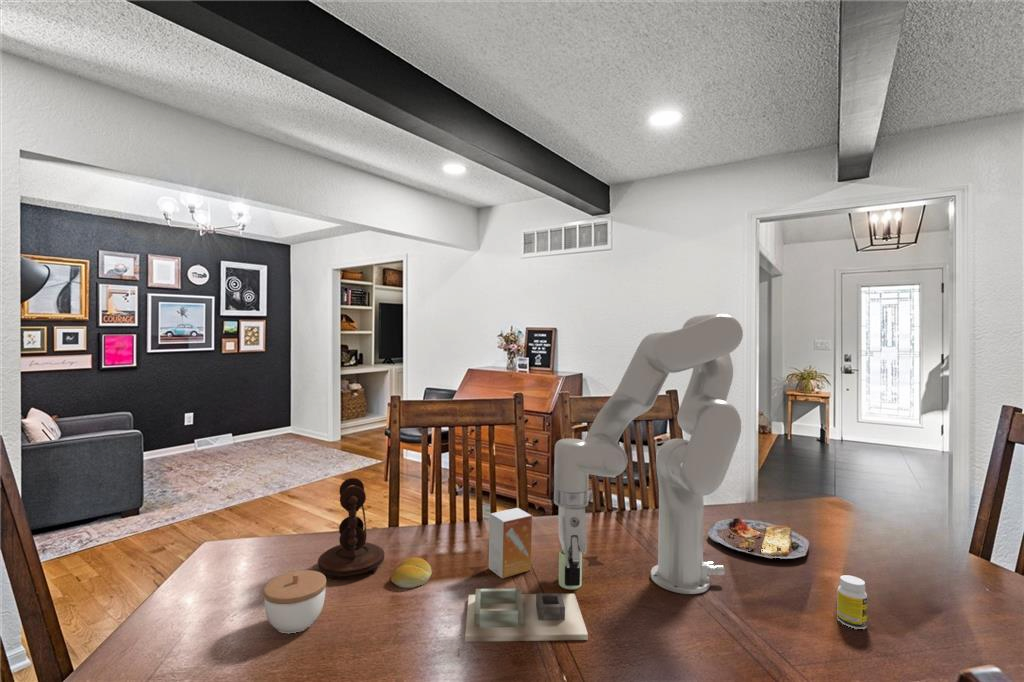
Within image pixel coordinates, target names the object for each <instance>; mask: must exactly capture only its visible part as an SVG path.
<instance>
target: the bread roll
mask: <svg viewBox="0 0 1024 682" xmlns="http://www.w3.org/2000/svg"><path fill="white" fill-rule="evenodd" d="M432 572H433V571H432V567H431V565H430V563H429V562H428V561H426V560H425V559H424V558H421V557H409V558H406V559H404V560H403V561H402V562H400V564H398V566H397V568H396V569H394V571H393V572H392V573H391V578H390V580H391V582H392V583H393V584H394V585H395V586H397V587H399V588H401V587H402V588H403V589H412V588H417V586H418V587H420V585H421V586H423V585H425V584H426V583H427V582H428V581H429V580H430V577H432V576H431V575H432ZM402 588H401V589H402Z"/></svg>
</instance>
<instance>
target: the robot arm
mask: <svg viewBox="0 0 1024 682" xmlns="http://www.w3.org/2000/svg"><path fill="white" fill-rule="evenodd" d="M743 336H744V332H743V327H742V324H741V323H740V322H739V321H738V320H737V319H736V317H733V316H731V315H729V314H725V313H714V314H701V315H696V316H693V317H690V318H689V319H687V320H686V321H685V323H684V324H683V326H682V328H680V329H676V330H673V331H668V332H666V331H665V332H664V331H663V332H654V333H650V334H647V335H646V336H644V337H643V338H642V340H641V341H640V343H639V345H638V346H637V348H636V350H635V352H634V354H633V357H632V358H631V360H630V362H629V364H628V366H627V369H626V371H625V372H624V374H623V377H622V378H621V380H620V382H619V385H618V387H617V388H616V390H615V392H614V393H613V394H612V395H611V396H610V397H609V399H608V400H607V401H606V402H605V404H604V405H603V407H601V409H600V410H599V412H598V413H597V415H596V417H595V418H594V420H593V422H592V424H591V426H590V428H589V430H588V432H587V434H586V436H585V439H584V440H583V439H580V438H570V437H569V438H561V439H559V440H557V441H556V442H555V444H554V462H553V463H554V464H553V465H554V467H553V468H554V469H553V470H554V471H553V473H554V475H553V476H554V478H553V479H554V480H553V481H554V483H553V503H554V504H555V505H556V506H557V507H558V514H557V515H558V517H557V520H558V521H557V523H558V524H557V525H558V526H557V527H558V540H559V542H560V546H561V550H562V549H563V551H564V553H565V554H566V566H565V585H566V586H579V585H580V557H579V548H580V551H581V553H582V555H586V554H587V550H588V549H587V548H588V547H587V546H588V545H587V520H586V519H587V518H586V517H587V516H586V507H587V506H588V505H589V481H590V480H589V477H590V475H591V476H592V475H593V476H599V477H604V478H605V477H606V478H612V477H617V476H619V475H621V474H622V473H624V472H625V470H626V468H627V466H628V461H629V460H628V459H629V458H628V455H627V452H626V451H625V449H624V448H623V447H622V446H621V445H620V444H618V442H619V440H620V438H621V436H622V435H623V433H624V431H625V430H626V428H627V427H628V425H629V424H631V422H633V420H635V419H636V418H637V417H639V416H641V415H643V414H645V413H647V412H648V411H650V409H652V408H653V406H654V405H655V403H656V400H657V397H658V396H659V394H660V392H661V390H662V387H663V386H664V384H665V382H666V380H667V378H668V376H669V374H671V373H672V374H675V373H681V372H683V371H687V370H690V369H692V372H691V376H690V379H689V381H688V384H687V388H686V390H685V392H684V395H683V398H682V400H681V403H680V406H679V408H678V412H677V415H676V416H677V419H676V421H677V423H678V426H679V428H680V429H681V430H682V431H684V432H685V433H686V434H687V435H690V438H689V440H687V439H684V438H676V437H675V438H672V439H671V438H670V439H668V440H667V441H665V442H664V443H663V444H661V446H660V447H659V448H658V452H657V454H656V459H655V464H656V465H655V467H656V475H657V484H658V538H657V539H658V541H657V544H658V547H657V549H658V551H657V553H658V554H657V564H656V565H654V566H652V568H651V569H650V578H651V580H652V581H653V583H654V584H656V585H657V586H659V587H660V588H662V589H664V590H667V591H670V592H673V593H677V594H680V595H681V594H682V595H697V594H701V593H705V592H707V591H708V590H709V588H710V586H711V580H710V577H711V576H712V575H714V576H715V575H716V576H724V575H725V574H726V570H725V567H724V565H719V564H717V565H716V564H715V563H714V562H713V561H704V557H703V556H704V513H705V506H704V505H705V504H704V496H709V495H711V494H713V493H714V492H715V491H717V490H718V489H719V488H720V486H721V485H722V484H723V481H724V479H725V477H726V475H727V472H728V470H729V467H730V464H731V462H732V459H733V456H734V454H735V451H736V448H737V445H738V443H739V440H740V436H741V432H742V420H741V416H740V413H739V412H738V411H739V410H738V409H736V407H735V406H734V405H733V404H731V403H729V401H727V399H728V395H729V393H730V390H731V386H732V383H733V378H734V365H733V361H732V358H731V353H732V352H734V351H735V350H736V349H737V348H738V347H739V346H740V344H741V343H742V340H743V338H744V337H743ZM568 549H572V552H568ZM561 550H560V551H561ZM569 555H572V558H570V560H569ZM714 564H715V565H714Z"/></svg>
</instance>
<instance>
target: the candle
mask: <svg viewBox="0 0 1024 682" xmlns="http://www.w3.org/2000/svg"><path fill="white" fill-rule="evenodd" d="M568 552H572V549H568ZM579 557H580V585H579V586H566V585H565V566H566V554H565V553H564V551H563V549H562V550H560V551H559V552H558V585H559V586H560V587H561V588H563V589H566V590H577V589H579V588H581V586H582V568H583V564H582V563H583V553H581V551H580V548H579ZM570 558H572V555H569V560H570Z"/></svg>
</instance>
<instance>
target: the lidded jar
mask: <svg viewBox="0 0 1024 682" xmlns="http://www.w3.org/2000/svg"><path fill="white" fill-rule="evenodd" d="M326 586H327V578H326V576H325V574H324V573H323V572H321V571H316V570H309V569H306V570H305V569H304V570H302V569H301V570H296V571H295V570H294V571H290V572H286V573H284V574H280V575H279V576H277V577H274V578H273V579H271V580H270V581H268V582H267V583H266V585H265V586H264V588H263V598H264V599H263V601H264V603H263V604H264V613H265V615H266V618H267V620H268V623H269V624H270V625H271V626H272V627H274V629H276V630H277V631H278V633H280V632H281V633H280V634H282V633H288V634H287V635H290V634H289V633H295V634H297V633H296V632H299V631H302V630H304V629H306V628H307V627H309V626H310V625H311V624H312V625H313V623H314V622H315V620H316V619H318V618H319V615H320V614H321V613H322V610H323V607H324V603H325V599H326V590H327V589H326ZM312 625H311V626H312ZM311 626H310V627H311ZM310 627H309V628H310ZM306 630H307V629H306ZM304 631H305V630H304ZM302 632H303V631H302ZM299 633H300V632H299Z"/></svg>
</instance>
